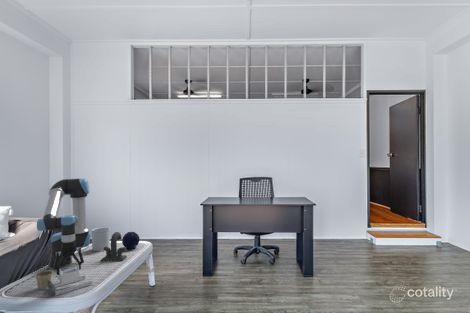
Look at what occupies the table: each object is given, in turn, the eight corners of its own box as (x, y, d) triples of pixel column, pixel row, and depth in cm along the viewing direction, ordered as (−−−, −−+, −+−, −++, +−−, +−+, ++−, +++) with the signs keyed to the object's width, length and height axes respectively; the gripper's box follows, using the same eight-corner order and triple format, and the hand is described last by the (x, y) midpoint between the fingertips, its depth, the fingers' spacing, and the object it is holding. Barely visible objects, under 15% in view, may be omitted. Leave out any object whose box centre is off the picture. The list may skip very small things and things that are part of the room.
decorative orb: (135, 245, 246) (138, 228, 255) (117, 245, 246) (121, 229, 255) (140, 251, 257) (142, 235, 266) (123, 251, 257) (126, 235, 266)
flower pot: (50, 282, 186) (49, 269, 186) (55, 286, 180) (55, 272, 180) (32, 288, 179) (32, 274, 179) (38, 292, 173) (37, 277, 173)
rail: (47, 289, 177) (47, 280, 177) (85, 278, 191) (84, 271, 191) (53, 296, 167) (53, 287, 167) (91, 284, 182) (91, 276, 182)
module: (59, 281, 178) (59, 271, 178) (76, 277, 184) (76, 267, 184) (61, 284, 174) (61, 274, 174) (78, 280, 179) (78, 270, 179)
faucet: (131, 254, 240) (130, 229, 240) (123, 260, 224) (122, 234, 224) (109, 254, 240) (109, 230, 240) (100, 261, 224) (99, 235, 224)
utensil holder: (101, 245, 265) (101, 226, 265) (114, 247, 260) (113, 227, 260) (87, 250, 252) (87, 230, 252) (100, 252, 246) (100, 231, 246)
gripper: (49, 246, 169) (49, 285, 169) (89, 238, 184) (90, 274, 184) (46, 243, 174) (46, 281, 174) (85, 236, 189) (86, 271, 189)
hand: (69, 277), depth 179 cm, fingers closed on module, 9 cm apart
